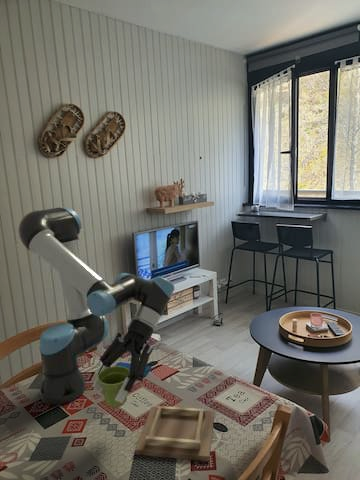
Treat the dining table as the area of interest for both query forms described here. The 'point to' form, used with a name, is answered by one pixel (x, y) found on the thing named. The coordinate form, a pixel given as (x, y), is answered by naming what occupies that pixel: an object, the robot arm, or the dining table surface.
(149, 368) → the smartphone
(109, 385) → the plant pot
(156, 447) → the pot stand
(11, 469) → the dining table surface
